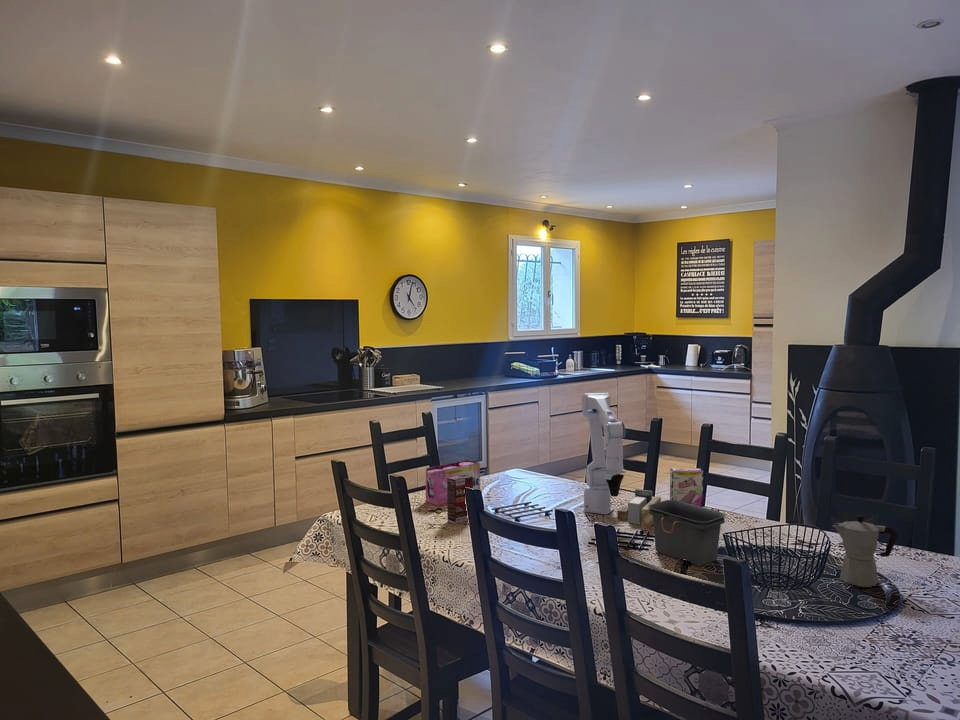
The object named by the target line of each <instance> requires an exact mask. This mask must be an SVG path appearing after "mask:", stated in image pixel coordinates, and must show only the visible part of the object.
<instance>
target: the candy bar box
mask: <svg viewBox="0 0 960 720" xmlns="http://www.w3.org/2000/svg"><path fill="white" fill-rule="evenodd" d="M669 469H670V470H669V473H670V474H669V500H677V501H681V502H685V503H689V504H692V505H696V506H700V507H703V508H704V504H703V503H704V470H702V468H688V467H687V468H686V467H685V468H684V467H670V468H669Z"/></svg>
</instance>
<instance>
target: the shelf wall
mask: <svg viewBox="0 0 960 720" xmlns="http://www.w3.org/2000/svg"><path fill="white" fill-rule="evenodd" d="M661 501H662V496H654V497H652V500H651V501H650V502H649V503H648V504H647V505H646V506H644V507H643V508H642V522H641V530H645V531H648V530H649V529H650V528H651V527H652V526H654V522H653V515H651V514H650V513H649V510H650V508H649V507H648V506H649V505H650V504H654V503H658V502H661Z"/></svg>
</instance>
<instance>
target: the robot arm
mask: <svg viewBox="0 0 960 720" xmlns="http://www.w3.org/2000/svg"><path fill="white" fill-rule="evenodd" d="M610 407H611V397H610V394H609V392H594V393H593V392H592V393H591V392H590V393H589V392H587V393H586V392H584V393H583V394H582V397H581V409H582V415H583V417H585V418H587V422H588V428H589V436H590V437H589V438H590V446H591V456H592V461H591V462H590V463H589V464H587V467H586V469H585V471H586V474H585V480H586V484H587V485H586V486H585V488H584V491H583V513H591V514H592V513H593V514H601V515H609V514H610V513H612V511H613V512H614V510H615V508H614V507H611V506H612V504H611V503H612V502H611V497H614V498H615V497H616V498H617V497H618V496H619V492H620V489H621V484H622V481H623V480H624V477H625V475H624V474H625V473H627V470H626V469H624V447H623V446H624V445H623V443H624V440H623V439H624V438H626V425H625V423H624V421H621V420H619V419H618V418H617V415H616V413H615V412H614V411H612V410H610V409H611V408H610ZM604 444H605V445H604Z"/></svg>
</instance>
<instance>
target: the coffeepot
mask: <svg viewBox="0 0 960 720" xmlns="http://www.w3.org/2000/svg"><path fill="white" fill-rule="evenodd" d="M864 518H865V516H864V515H861V514H859V515H858V514H857V515H856V519H857V521H855V520H853V521H844V522H841V523H840V522H839V523H837V522H836V523H834V524H832V527H833V528H834V529H835V530H836V532H837V533H838V535H839V537H840V538H841V541H842V544H843V545H842V546H843V549H844V550H845V554H844V556H843V560H842V565H841V571H840V574H839V575H840V576H839V578H840V580H841V581H842V582H844V583H845V584H849V585H851V584H852V586H854V585H855V587H861V588H872V586H874V587H876V586H877V585H878V584H877V583H879V582H880V581H879V575H878V569H877V564H876V559H875V558H874V554H875V553H876V551H877V547H878V546H877V545H878V541H879V536H880V534H882V535H883V534H889V537H888V541H887V542H888V543H887V544H886V546H885V551H884V552H879V555H880V556H881V557H886V558H887V557H890V555H891V554H892V551H893V549H894V546H895V543H896V542H897V540H898V537H899V534H898V532H897V531H896V530H895V528H893V527H892V526H889V525H888V526H887V525H886V526H885V525H878V524H877V525H875V524H874V523H869V522H865V521H864ZM878 581H879V582H878ZM876 584H877V585H876ZM875 585H876V586H875Z"/></svg>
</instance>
